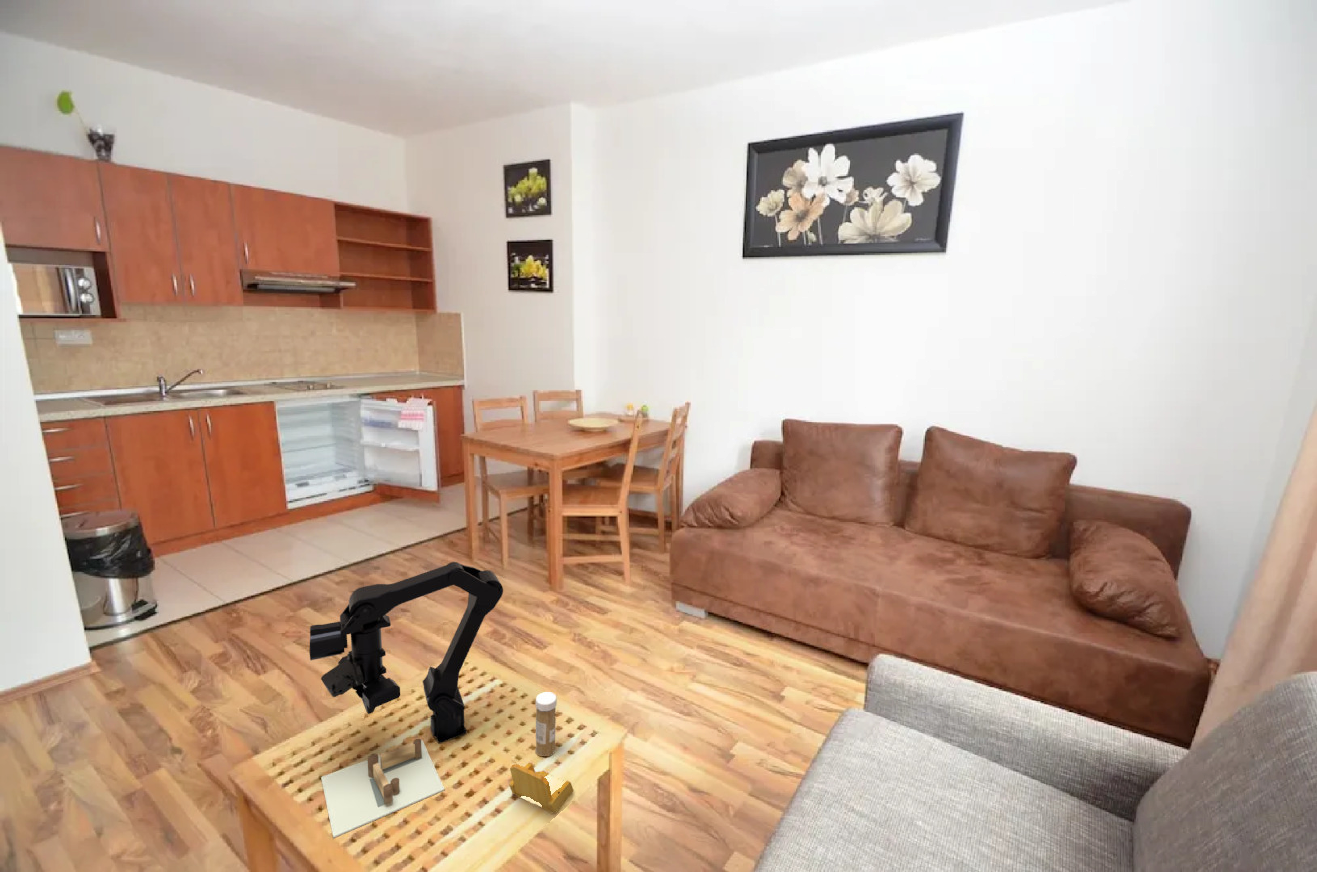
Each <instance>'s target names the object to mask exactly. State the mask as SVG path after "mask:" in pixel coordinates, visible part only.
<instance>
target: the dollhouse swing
mask: <svg viewBox="0 0 1317 872" xmlns="http://www.w3.org/2000/svg"><path fill="white" fill-rule="evenodd" d="M534 767H535V766H533V764H531V763H527V764H526V765H523V766H522V765H520V764H518V763H514V764H512V765H511V766H510V768H509V769H510V774H511V780H510V782H509V785H508V786H509V788H510V790H511V793H512V794H513V793H514V794H515V795H514V794H513V795H514V796H516V797H519V798H520V797H521V796H526V797H530V798H531V799H533V800H534V801H536V802H539V803H540V804H541V805H542V809H543V810H545V811H547V812H549V813H552V814H553V815H554V814H556V813H557V812H558V810H560V808H561V806H562V805H564V803H565V802H566V801H567V799H568V798H569V797H570V795H571V794H572V793H573V791H574V788H573V784H572V782H571V781H570V780H565V781H566V782H565V783H564V784H563V785H562V787H561V788H559V789H558V790H556V791H555V792H554V793H553V794H552V795H551V791H550V786H549V782H548V781H547V779H546V778H544V777H545V776H547V775H548V774H550V773H548V772H546V771H544V770H541V771H540V770H539V771H536V769H535V768H534Z"/></svg>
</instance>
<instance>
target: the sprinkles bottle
mask: <svg viewBox="0 0 1317 872" xmlns="http://www.w3.org/2000/svg"><path fill="white" fill-rule="evenodd" d="M557 702H558V701H557V695H556V694H555V693H554V692H550V691H544V692H541V693H539V694H537V696H536V698H535V708H536V713H535V715H536V716H535V744H536V745H535V746H536V747H535V754H537V755H538V756H539V755H540V757H542V756H548V755H550V756H551V754H552V753H553V752H554V751H555V752H556V748H557V747H556V722H557V721H556V719H557V718H556V709H557V708H556V707H557ZM555 752H554V753H555ZM554 753H553V754H554ZM553 754H552V755H553ZM548 757H549V756H548Z"/></svg>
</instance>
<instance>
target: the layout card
mask: <svg viewBox="0 0 1317 872" xmlns="http://www.w3.org/2000/svg"><path fill="white" fill-rule="evenodd" d="M421 749H422V757H421V758H420V759H418V760H415V759H414V758H411V759H408V760H406V761H403V762H401V763H398V764H395V765H393V766H390V767H388V768H385V769H382V771H383V773H384V775H385V777H386V779H387V781H388V783H389V784H391V783H390V782H391V780H392V779H394V778H399V787H400V792H399V794H398V795H395V796H393V801H392V802H391V803H390V804H384V798H383V796H382V794H381V792H380V790H379V788H378V786H377V784H376V782H375V780H374V778H370V777H369V776H368V759H366V760H363V761H361V762H358V763H355V764H353V765H350V766H348V767H344V768H342V769H339V770H337V771H334V772H331V773H328V774H325V775H323V776H321V777H320V778H321V779H320V780H321V784H322V789H323V794H324V799H325V803H326V808H327V813H328V817H329V823H330V828H331V833H332V838H333V839H335V838H337V837H340V836H342V835H344V834H346V833H349V832H352V831H354V830H355V829H358V828H360V827H361V828H362V827H363V826H366V825H367V824H369V823H372V822H374V821H377V820H380V819H381V818H382V819H383V818H384V817H385V816H388V815H391V814H393V813H395V812H399V811H400V810H402V809H404V808H407V807H409V806H412V805H414V804H416V803H418V802H419V803H420V802H421V801H423V800H425V799H428V798H430V797H432V796H434V795H437V794H439V793H441V792H444V791H445V787H444V783H442V780H441V777H440V775H439V774H438V771H437V770H436V767H435V765H434V762H433V761H432V758H431V756H430V753H429V752H428V750H427V747H426V745H425V743H424V741H423V739H421ZM378 762H379V765H380V767H381V760H380V754H378Z"/></svg>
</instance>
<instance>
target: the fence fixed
mask: <svg viewBox="0 0 1317 872" xmlns="http://www.w3.org/2000/svg"><path fill="white" fill-rule="evenodd" d="M421 740H422V739H420V738H416V739H414V740H413V742H410V743H407V744H405V745H404V744H403V745H402V746H399V747H396V748H393V749H391V750H388V751H386V752H383V753H380V754H378V753H371V754H369V755H368V756H367V759H366V760H368V776H369V777H370V778H374V776H373V765H374V764H376V763H379V762H378V756H379V755H380V760H381V769H385V768H388V767H390V766H393V765H395V764H398V763H401V762H403V761H406V760H408V759H411V758H414V759H415V760H418V759H420V758H421V757H422V749H421ZM390 783H391V784H392V790H393V796H395V795H398V794H399V792H400V787H399V778H394V779H392V780H391V782H390Z"/></svg>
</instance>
